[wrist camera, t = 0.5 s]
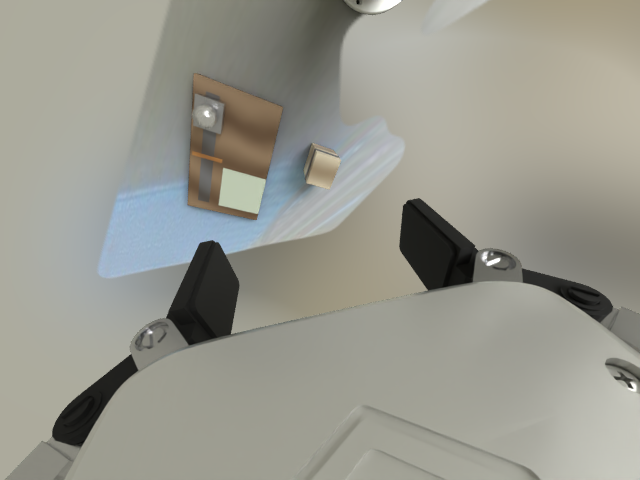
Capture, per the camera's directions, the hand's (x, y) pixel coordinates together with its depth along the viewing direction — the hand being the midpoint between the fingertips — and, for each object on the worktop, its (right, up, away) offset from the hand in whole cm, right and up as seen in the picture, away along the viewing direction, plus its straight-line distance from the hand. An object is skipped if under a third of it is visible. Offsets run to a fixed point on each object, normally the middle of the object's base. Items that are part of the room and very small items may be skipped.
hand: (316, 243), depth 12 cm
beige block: (0, +14, +29) cm, 32 cm away
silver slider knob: (-15, +18, +21) cm, 32 cm away
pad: (-14, +9, +29) cm, 33 cm away
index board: (-15, +14, +26) cm, 33 cm away
